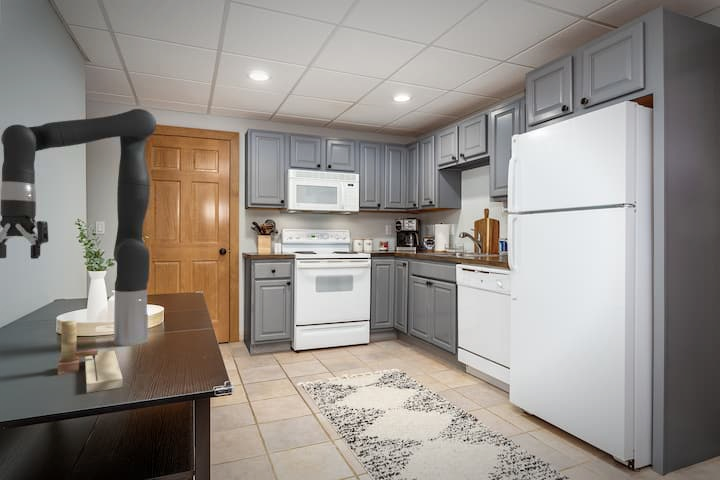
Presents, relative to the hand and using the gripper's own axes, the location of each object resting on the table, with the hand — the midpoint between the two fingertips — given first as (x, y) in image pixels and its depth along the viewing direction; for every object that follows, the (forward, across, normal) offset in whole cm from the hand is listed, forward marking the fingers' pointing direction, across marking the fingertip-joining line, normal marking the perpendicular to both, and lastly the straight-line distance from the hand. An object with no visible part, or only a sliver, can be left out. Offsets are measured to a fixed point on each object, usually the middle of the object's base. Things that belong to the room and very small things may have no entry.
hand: (18, 258), depth 115 cm
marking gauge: (+28, -20, +8) cm, 36 cm away
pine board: (+28, -28, +11) cm, 42 cm away
